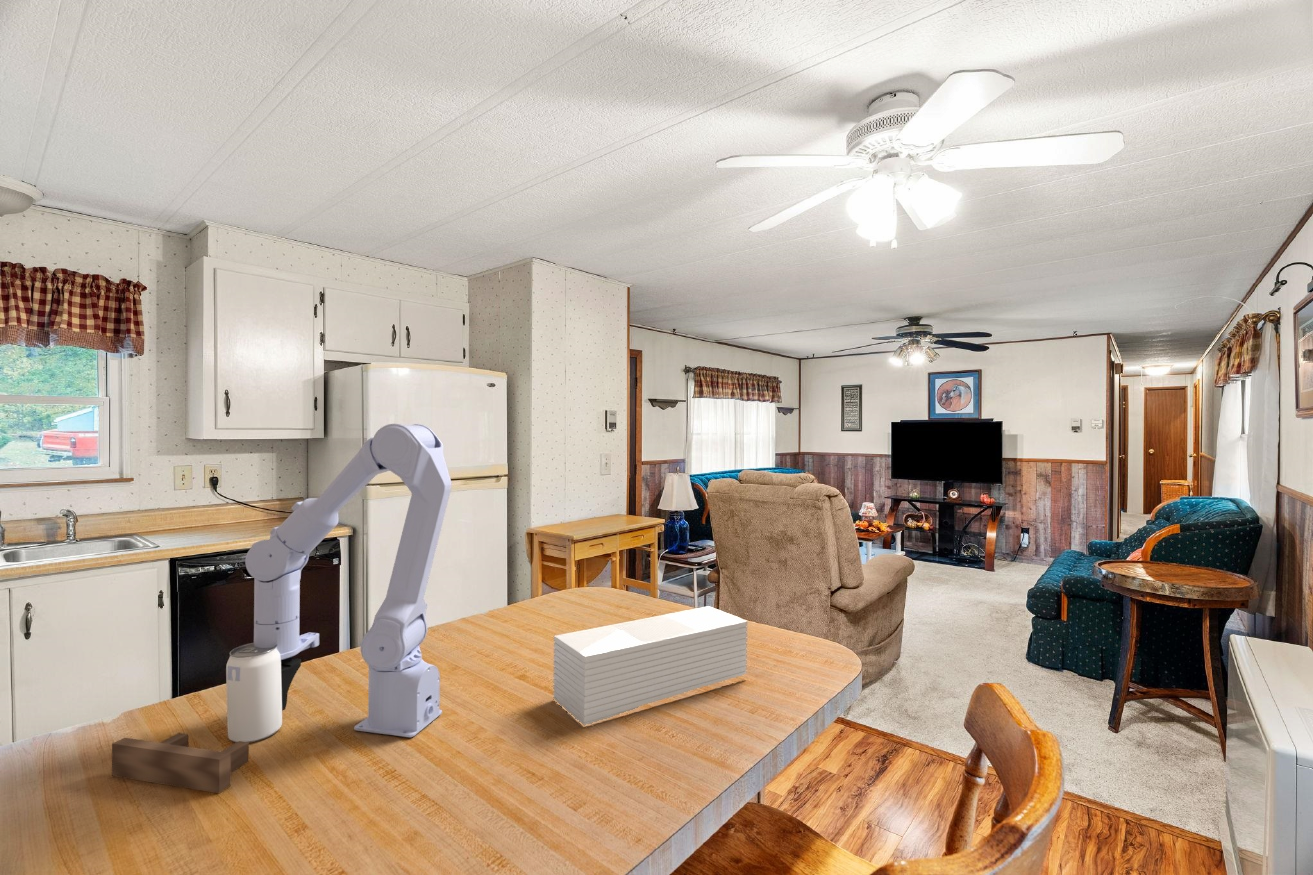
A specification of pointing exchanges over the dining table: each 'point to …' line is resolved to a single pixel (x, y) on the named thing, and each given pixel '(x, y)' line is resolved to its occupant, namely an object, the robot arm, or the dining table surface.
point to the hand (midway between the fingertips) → (276, 710)
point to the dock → (178, 762)
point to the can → (254, 693)
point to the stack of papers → (646, 661)
